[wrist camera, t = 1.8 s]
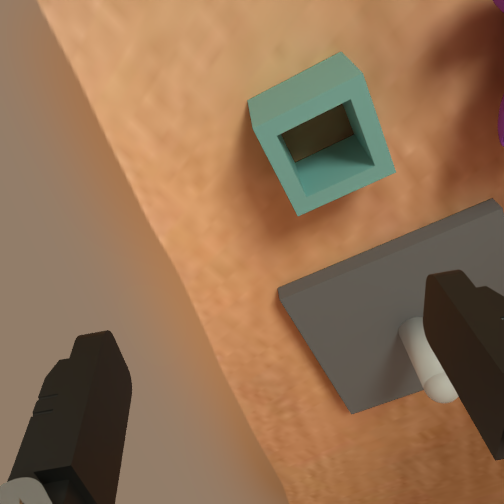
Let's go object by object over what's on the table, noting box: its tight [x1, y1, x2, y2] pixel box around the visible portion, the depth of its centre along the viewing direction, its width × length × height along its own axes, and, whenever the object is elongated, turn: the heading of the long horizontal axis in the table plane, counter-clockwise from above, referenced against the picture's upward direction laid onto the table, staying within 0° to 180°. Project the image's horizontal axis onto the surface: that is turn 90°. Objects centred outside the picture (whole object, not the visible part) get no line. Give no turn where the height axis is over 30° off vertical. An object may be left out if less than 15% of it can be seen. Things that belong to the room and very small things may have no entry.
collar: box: [247, 52, 396, 216], centre depth 28 cm, size 6×6×5 cm
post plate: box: [278, 198, 504, 414], centre depth 38 cm, size 18×18×9 cm
